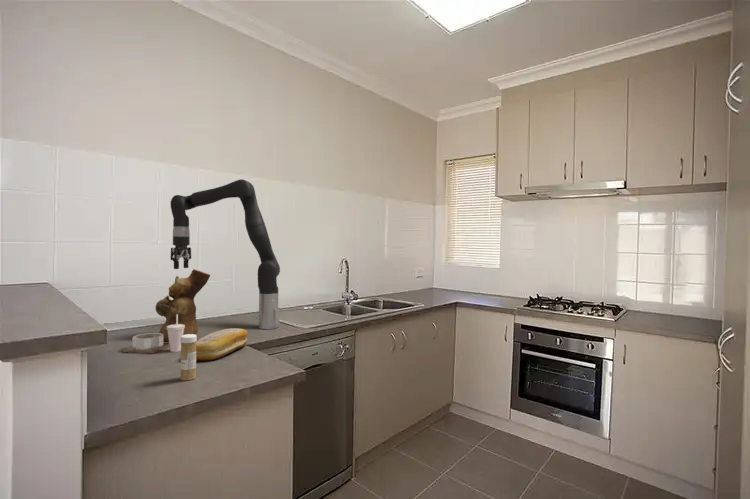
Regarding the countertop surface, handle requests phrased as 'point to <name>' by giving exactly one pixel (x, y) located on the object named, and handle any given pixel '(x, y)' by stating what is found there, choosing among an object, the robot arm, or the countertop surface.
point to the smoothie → (175, 335)
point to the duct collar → (147, 343)
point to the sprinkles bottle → (188, 356)
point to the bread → (220, 343)
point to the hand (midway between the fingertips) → (181, 268)
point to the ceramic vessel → (182, 303)
